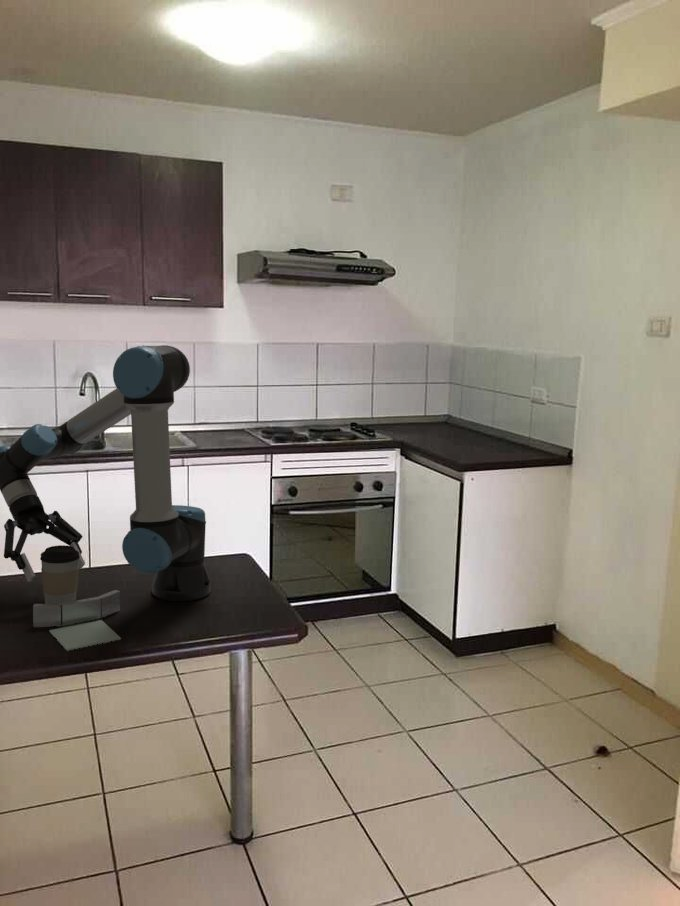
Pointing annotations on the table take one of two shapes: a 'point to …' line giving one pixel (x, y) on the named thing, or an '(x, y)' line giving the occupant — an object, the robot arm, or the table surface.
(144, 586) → the table surface
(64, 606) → the bent rail
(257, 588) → the table surface
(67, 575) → the coffee cup
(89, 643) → the mat
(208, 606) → the table surface
